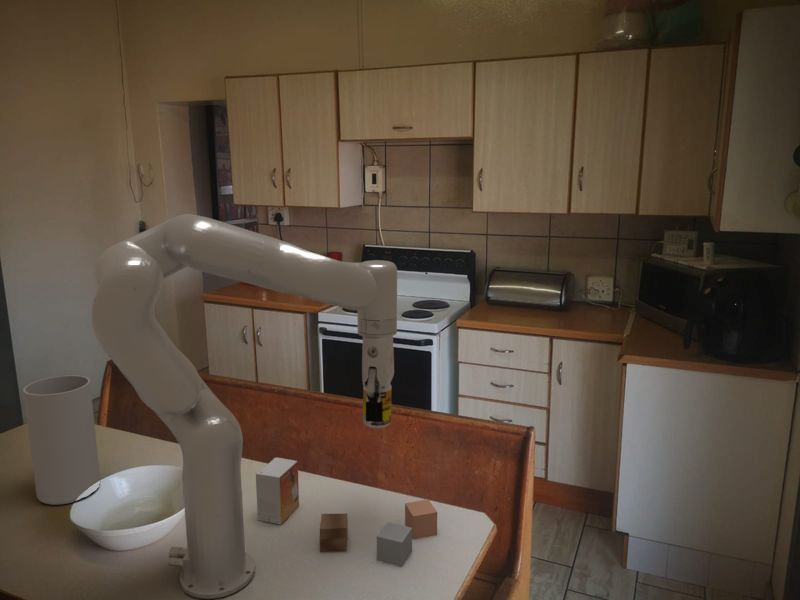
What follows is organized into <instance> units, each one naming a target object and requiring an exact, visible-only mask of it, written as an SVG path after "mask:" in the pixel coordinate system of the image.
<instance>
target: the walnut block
mask: <svg viewBox="0 0 800 600" xmlns="http://www.w3.org/2000/svg"><path fill="white" fill-rule="evenodd" d="M319 523H320V524H319V553H347V552H348V538H349V537H348V536H349V533H348V532H349V531H348V530H349V529H348V528H349V527H348V525H349V524H348V513H321V515H320V522H319Z"/></svg>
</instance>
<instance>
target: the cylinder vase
mask: <svg viewBox="0 0 800 600" xmlns="http://www.w3.org/2000/svg"><path fill="white" fill-rule="evenodd" d="M91 388H92V387H91V380H90V378H88V377H87V376H83V375H75V374H74V375H72V374H71V375H60V376H59V375H57V376H52V377H51V376H50V377H47V378H43V379H39V380H36V381H33V382H31V383H29V384H27V385H25V386H24V387H23V388H22V391H23V392H22V393H23V398H24V399H23V400H24V406H25V409H24V410H25V414H26V415H25V416H26V421H27V430H28V439H29V446H30V453H31V454H30V455H31V459H32V462H31V463H32V468H33V477H34V485H35V492H36V498H37V499H38V501H39V502H41V503H43V504H46V505H53V506H55V505H56V506H58V505H66V504H71V503H75V502H74V501H75V500H76V499H77V497H78V496H79V495H80V494H82V493H83V492H84V491H85V490H87V489H88V488H89V487H90V486H92V485H93V484H95V483H96V482H98V481H99V480H100V481H101V475H100V474H101V473H100V463H99V455H98V445H97V436H96V435H97V434H96V428H95V427H96V425H95V417H94V408H93V407H94V405H93V397H92V389H91Z"/></svg>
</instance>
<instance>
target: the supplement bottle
mask: <svg viewBox="0 0 800 600" xmlns="http://www.w3.org/2000/svg"><path fill="white" fill-rule="evenodd" d="M362 386H363V387H362V392H363V393H362V422H363V424H364V426H366V427H368V428H372V429H383V428H386V427H388V426H389V425H390V424H391V423H392V389H393V388H392V384H391V383H390V385H389V386H388V387H387V388H384V387H382V395H381V401H383V420H382V422H371V421H366V393H367V387H365V386H364V385H363V384H362ZM375 386H379V383H375ZM375 392H377V394H378V389H375Z"/></svg>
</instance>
